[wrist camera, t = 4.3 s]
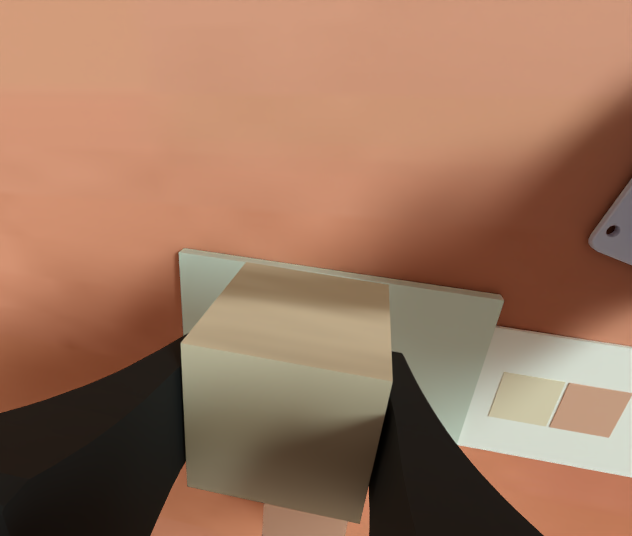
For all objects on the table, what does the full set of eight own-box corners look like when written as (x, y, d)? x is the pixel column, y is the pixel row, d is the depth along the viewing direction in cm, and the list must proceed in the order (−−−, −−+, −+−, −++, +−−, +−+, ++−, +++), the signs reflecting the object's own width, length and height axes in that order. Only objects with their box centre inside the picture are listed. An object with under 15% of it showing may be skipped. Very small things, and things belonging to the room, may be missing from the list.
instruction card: (467, 321, 20) (468, 323, 20) (705, 358, 19) (710, 361, 18) (433, 437, 23) (434, 441, 23) (634, 475, 22) (637, 479, 22)
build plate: (184, 248, 21) (178, 252, 20) (500, 294, 19) (504, 300, 18) (192, 408, 25) (187, 415, 25) (448, 457, 23) (449, 465, 23)
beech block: (245, 262, 12) (180, 343, 8) (388, 284, 12) (392, 381, 8) (242, 375, 14) (187, 486, 10) (366, 398, 14) (359, 523, 10)
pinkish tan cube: (283, 437, 25) (263, 503, 21) (353, 450, 25) (347, 521, 21) (279, 485, 27) (261, 555, 23) (344, 499, 26) (338, 572, 22)
